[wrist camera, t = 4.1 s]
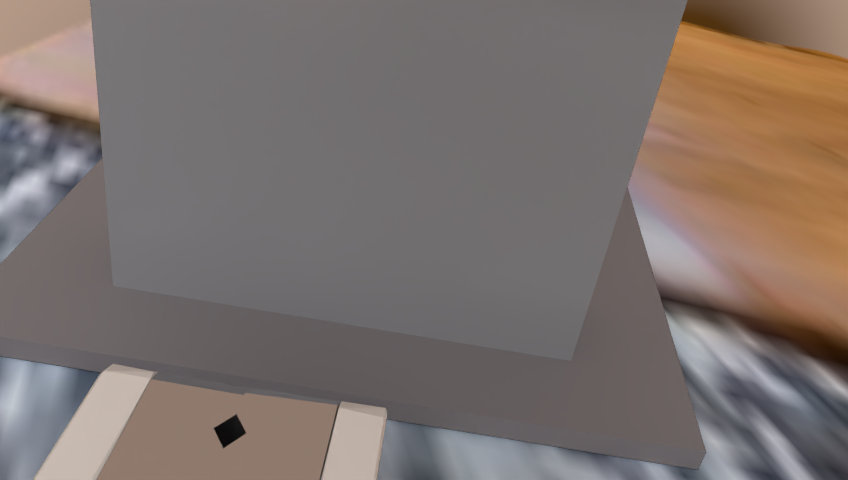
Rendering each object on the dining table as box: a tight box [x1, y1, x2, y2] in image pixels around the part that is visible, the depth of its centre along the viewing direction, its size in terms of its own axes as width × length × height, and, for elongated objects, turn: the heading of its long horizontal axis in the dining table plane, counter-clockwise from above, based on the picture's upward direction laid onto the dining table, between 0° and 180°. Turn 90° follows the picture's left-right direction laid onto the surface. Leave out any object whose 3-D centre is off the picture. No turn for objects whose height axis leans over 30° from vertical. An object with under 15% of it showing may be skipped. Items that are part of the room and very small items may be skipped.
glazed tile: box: [90, 0, 687, 361], centre depth 19 cm, size 12×3×12 cm, turn 86°
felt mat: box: [0, 158, 706, 470], centre depth 26 cm, size 18×18×1 cm
